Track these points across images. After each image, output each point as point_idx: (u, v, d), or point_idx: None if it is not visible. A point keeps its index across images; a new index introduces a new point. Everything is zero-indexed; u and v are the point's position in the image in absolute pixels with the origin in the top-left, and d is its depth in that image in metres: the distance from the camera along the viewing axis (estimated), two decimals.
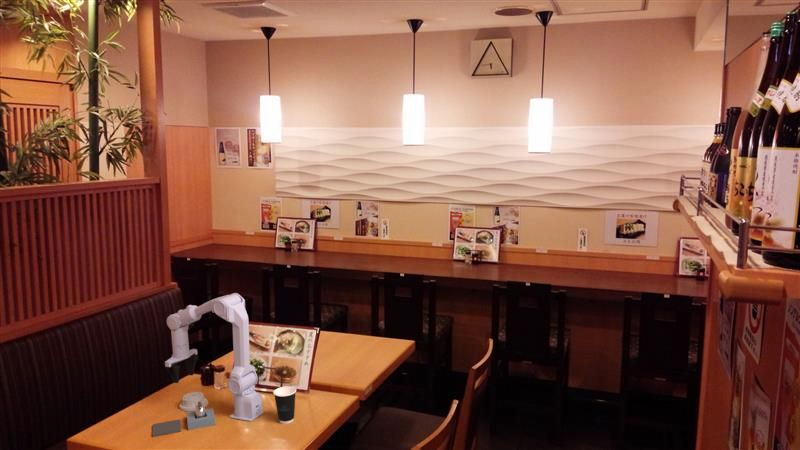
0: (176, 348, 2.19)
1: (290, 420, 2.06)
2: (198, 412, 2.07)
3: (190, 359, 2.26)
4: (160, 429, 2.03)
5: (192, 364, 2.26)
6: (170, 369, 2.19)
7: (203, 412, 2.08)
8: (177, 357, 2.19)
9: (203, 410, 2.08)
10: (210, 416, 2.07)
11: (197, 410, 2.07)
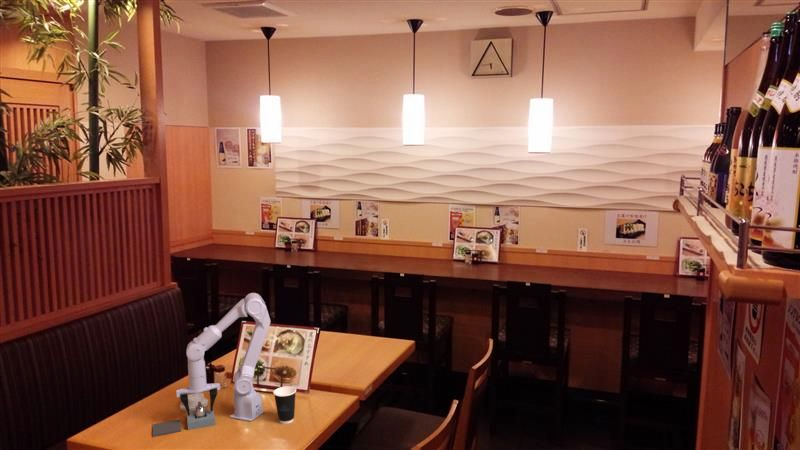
0: (189, 379, 2.05)
1: (290, 420, 2.06)
2: (198, 412, 2.07)
3: (210, 393, 2.08)
4: (160, 429, 2.03)
5: (210, 399, 2.08)
6: None
7: (203, 412, 2.08)
8: (189, 389, 2.06)
9: (203, 410, 2.08)
10: (210, 416, 2.07)
11: (197, 410, 2.07)
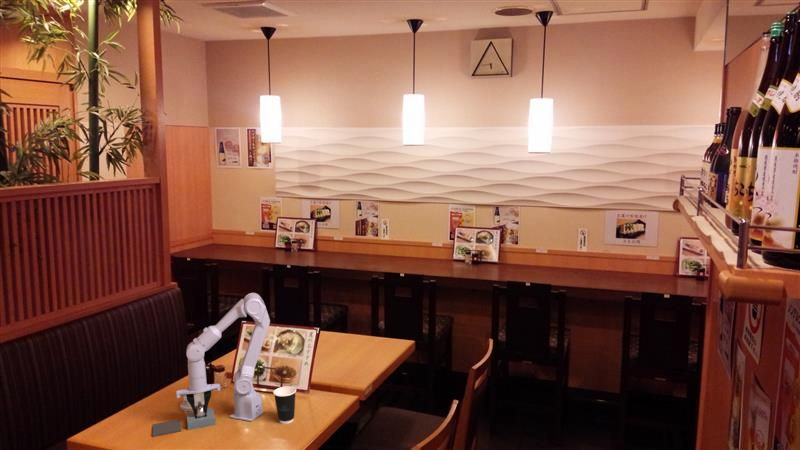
0: (189, 380, 2.05)
1: (290, 420, 2.06)
2: (198, 412, 2.07)
3: (204, 395, 2.08)
4: (160, 429, 2.03)
5: (204, 401, 2.07)
6: None
7: (203, 412, 2.08)
8: (190, 389, 2.06)
9: (203, 410, 2.08)
10: (210, 416, 2.07)
11: (197, 410, 2.07)
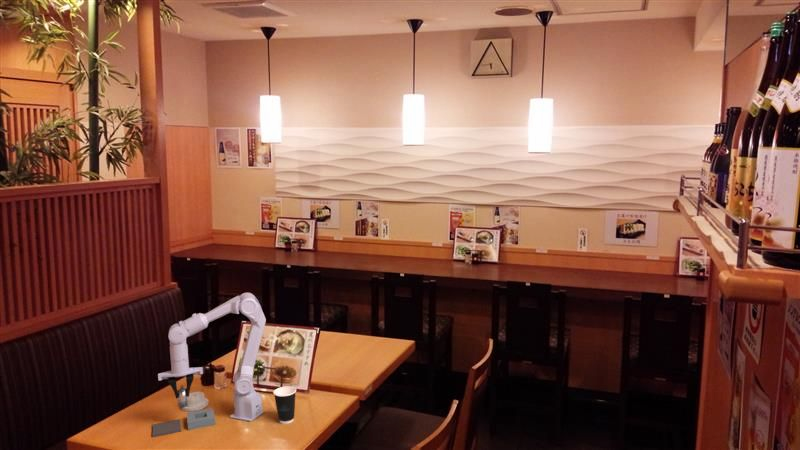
0: (171, 362, 2.02)
1: (290, 420, 2.06)
2: (180, 395, 2.04)
3: (186, 378, 2.05)
4: (160, 429, 2.03)
5: None
6: None
7: (185, 396, 2.05)
8: (171, 372, 2.03)
9: (185, 393, 2.05)
10: (210, 416, 2.07)
11: (179, 393, 2.04)
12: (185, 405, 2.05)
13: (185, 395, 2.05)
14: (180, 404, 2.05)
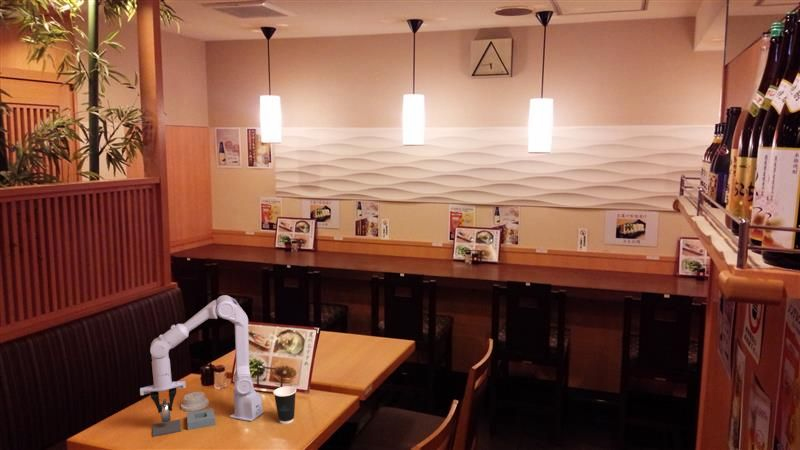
0: (153, 377, 2.01)
1: (290, 420, 2.06)
2: (163, 410, 2.02)
3: None
4: (160, 429, 2.03)
5: (169, 399, 2.03)
6: None
7: (168, 410, 2.03)
8: (154, 387, 2.01)
9: (168, 408, 2.03)
10: (210, 416, 2.07)
11: (161, 408, 2.02)
12: (168, 420, 2.03)
13: (168, 409, 2.03)
14: (163, 419, 2.03)
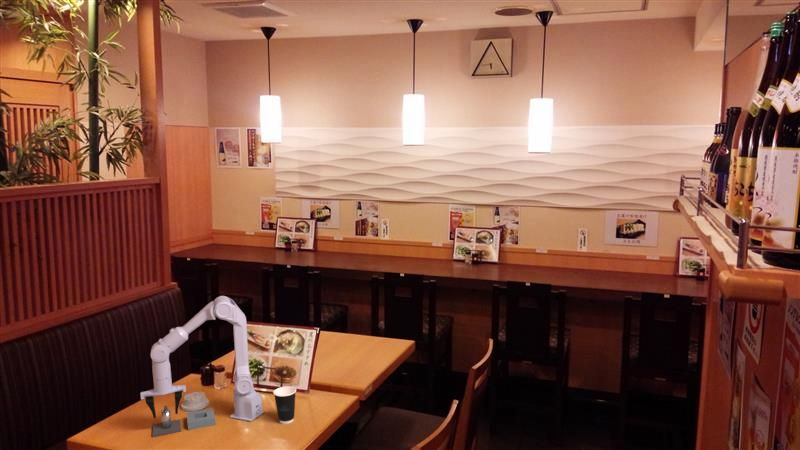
0: None
1: (290, 420, 2.06)
2: (164, 416, 2.03)
3: None
4: (160, 429, 2.03)
5: (175, 402, 2.04)
6: None
7: (169, 416, 2.04)
8: (154, 391, 2.01)
9: (169, 414, 2.04)
10: (210, 416, 2.07)
11: (163, 414, 2.03)
12: (169, 426, 2.04)
13: (169, 416, 2.04)
14: (164, 425, 2.03)
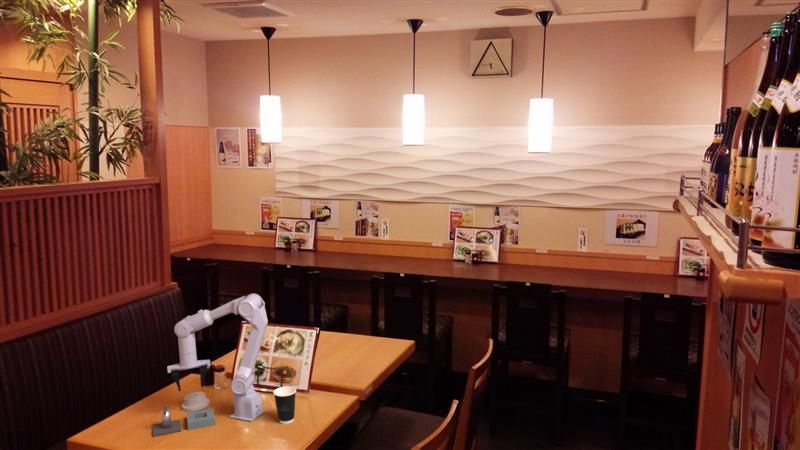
0: None
1: (290, 420, 2.06)
2: (163, 417, 2.03)
3: (200, 370, 2.13)
4: (160, 429, 2.03)
5: (201, 375, 2.13)
6: None
7: (169, 417, 2.04)
8: (180, 365, 2.10)
9: (169, 415, 2.04)
10: (210, 416, 2.07)
11: (162, 415, 2.03)
12: (169, 426, 2.04)
13: (168, 416, 2.04)
14: (163, 425, 2.03)
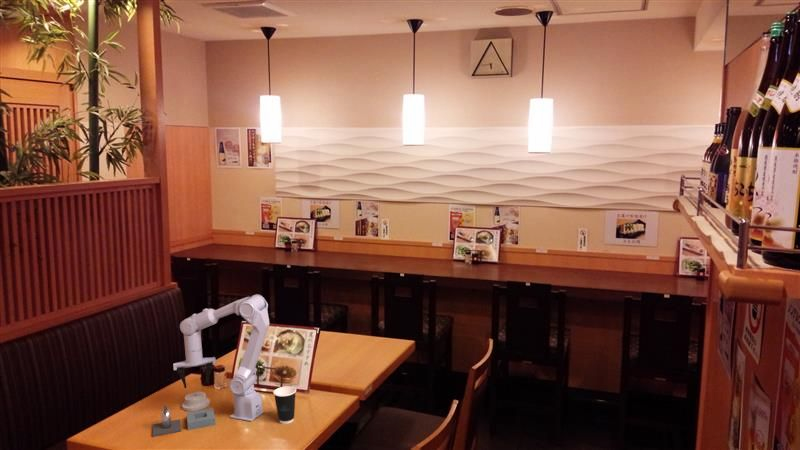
0: (185, 353, 2.12)
1: (290, 420, 2.06)
2: (163, 417, 2.03)
3: None
4: (160, 429, 2.03)
5: None
6: None
7: (169, 417, 2.04)
8: (186, 362, 2.13)
9: (169, 415, 2.04)
10: (210, 416, 2.07)
11: (162, 415, 2.03)
12: (169, 426, 2.04)
13: (169, 416, 2.04)
14: (164, 425, 2.03)
